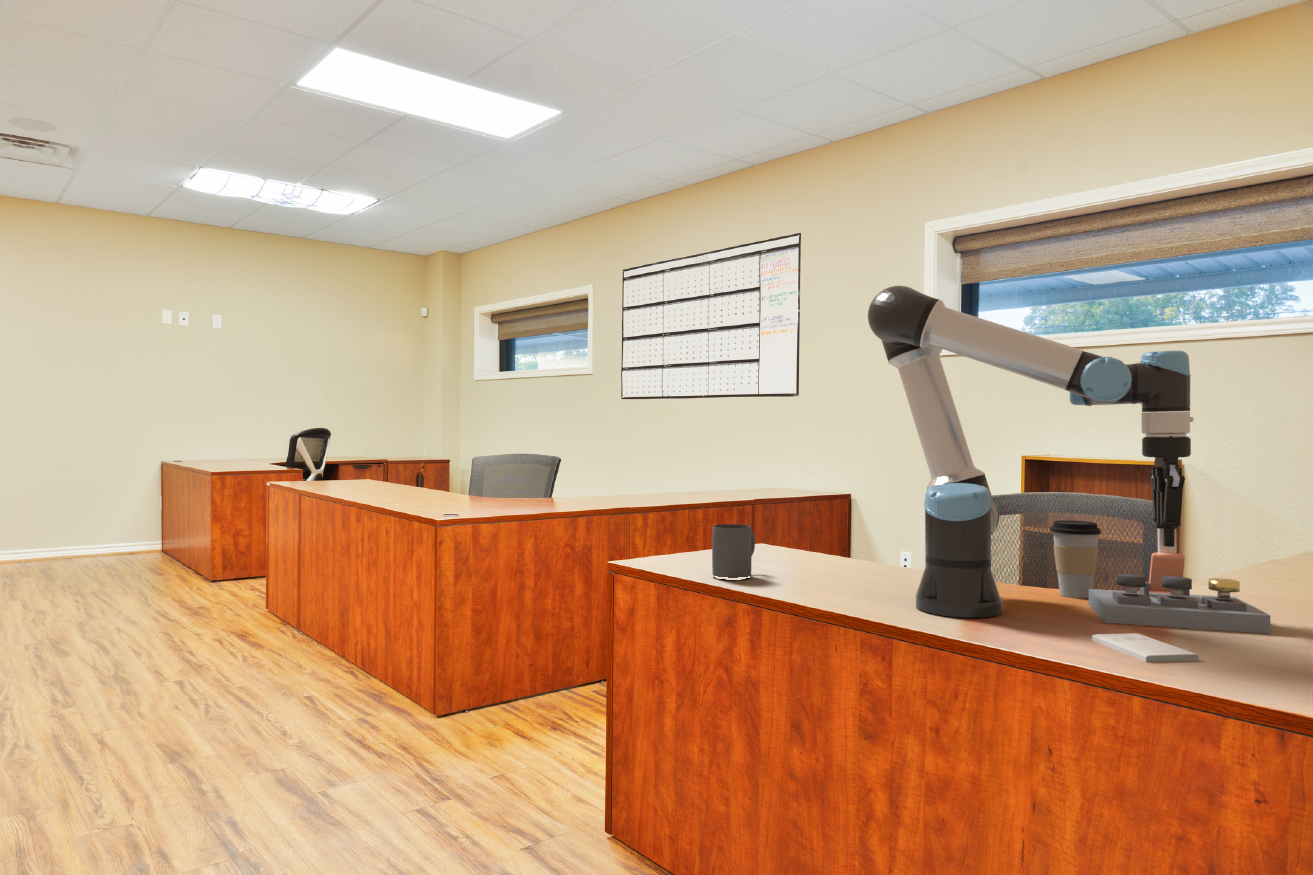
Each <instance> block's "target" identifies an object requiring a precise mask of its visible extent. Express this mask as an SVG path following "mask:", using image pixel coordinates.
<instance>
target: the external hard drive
mask: <svg viewBox="0 0 1313 875" xmlns="http://www.w3.org/2000/svg"><path fill="white" fill-rule="evenodd" d="M1091 641H1092V642H1095V643H1098V644H1100V645H1102V646H1105V647H1107V648H1110V649H1113V650H1115V651H1117V652H1120V653H1122V654H1125V655H1127V656H1129V657H1132V658H1134V659H1137V660H1139V661H1142V662H1145V663H1160V662H1161V663H1164V662H1167V663H1168V662H1169V663H1172V662H1199V661H1200V656H1199V654H1197V653H1195V652H1192V651H1189V650H1187V649H1184V648H1180V647H1177V646H1175V645H1172V644H1169V643H1166V642H1163V641H1160V640H1158V639H1154V638H1152V637H1149V636H1146V635H1144V634H1140V633H1138V632H1136V633H1134V632H1131V633H1103V634H1102V633H1100V634H1098V633H1097V634H1093V635H1091Z"/></svg>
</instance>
